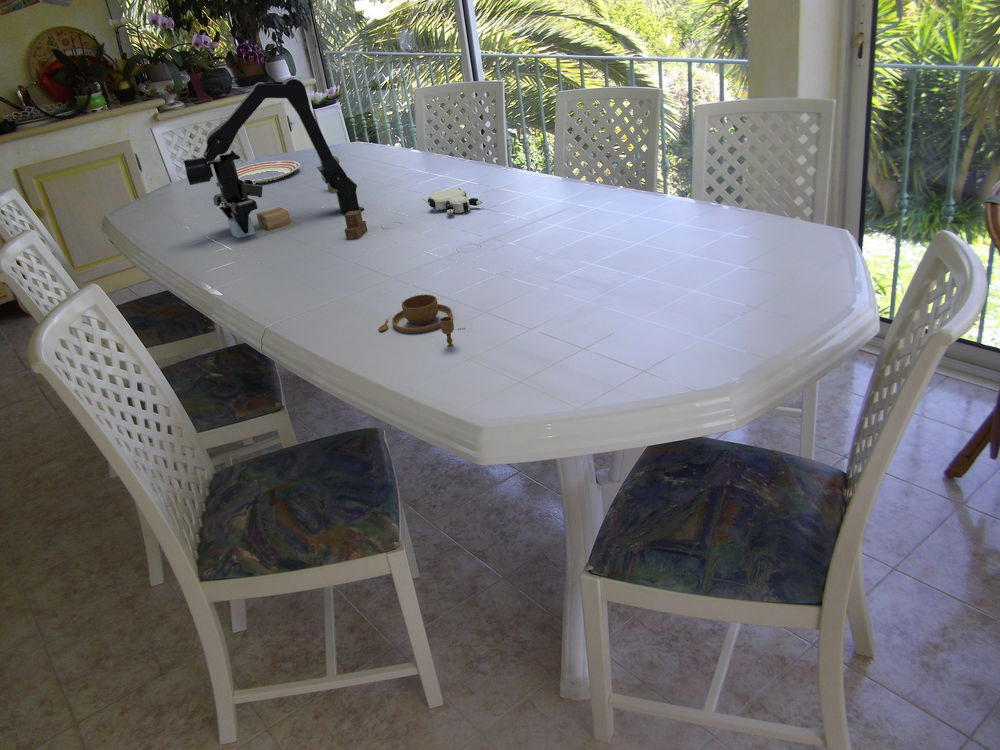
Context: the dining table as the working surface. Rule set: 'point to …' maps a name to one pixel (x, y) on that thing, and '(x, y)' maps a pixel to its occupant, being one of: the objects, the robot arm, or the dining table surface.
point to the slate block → (237, 230)
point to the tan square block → (273, 218)
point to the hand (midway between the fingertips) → (242, 231)
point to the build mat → (267, 232)
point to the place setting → (423, 316)
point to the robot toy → (451, 201)
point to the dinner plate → (268, 169)
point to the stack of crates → (354, 225)
